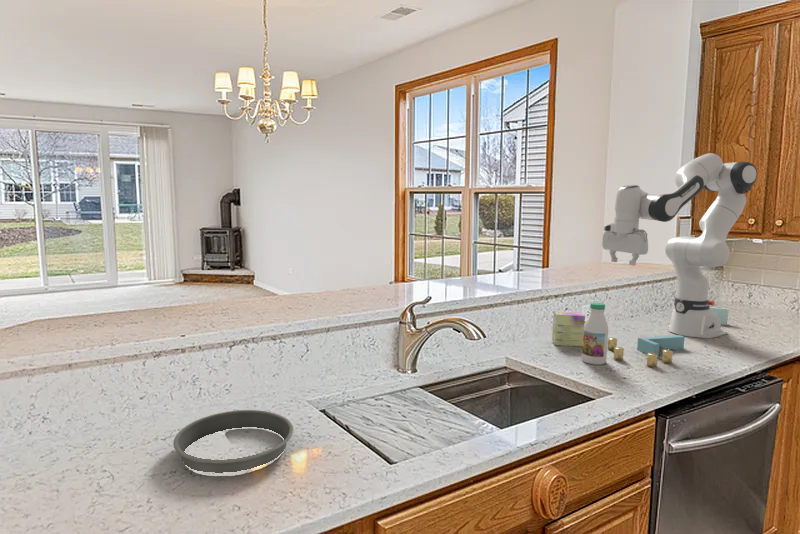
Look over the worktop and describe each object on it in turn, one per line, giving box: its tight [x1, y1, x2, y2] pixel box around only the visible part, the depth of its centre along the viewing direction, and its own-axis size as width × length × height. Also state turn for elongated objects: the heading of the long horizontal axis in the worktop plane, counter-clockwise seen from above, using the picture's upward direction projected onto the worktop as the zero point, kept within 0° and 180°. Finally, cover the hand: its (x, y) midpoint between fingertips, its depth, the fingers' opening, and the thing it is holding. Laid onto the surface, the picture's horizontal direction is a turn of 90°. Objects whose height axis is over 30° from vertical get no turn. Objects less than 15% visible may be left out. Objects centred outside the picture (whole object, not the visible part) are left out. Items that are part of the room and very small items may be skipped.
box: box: [551, 311, 586, 348], centre depth 197 cm, size 10×6×12 cm, turn 84°
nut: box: [658, 346, 664, 356], centre depth 187 cm, size 4×4×2 cm
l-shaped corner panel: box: [710, 306, 729, 326], centre depth 237 cm, size 12×12×8 cm
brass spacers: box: [607, 337, 674, 369], centre depth 183 cm, size 16×22×4 cm
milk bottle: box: [581, 301, 609, 366], centre depth 176 cm, size 8×8×20 cm
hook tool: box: [636, 334, 686, 356], centre depth 190 cm, size 18×8×4 cm, turn 104°
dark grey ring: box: [173, 409, 294, 473], centre depth 114 cm, size 25×25×4 cm
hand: (623, 263), depth 205 cm, fingers open, 8 cm apart
